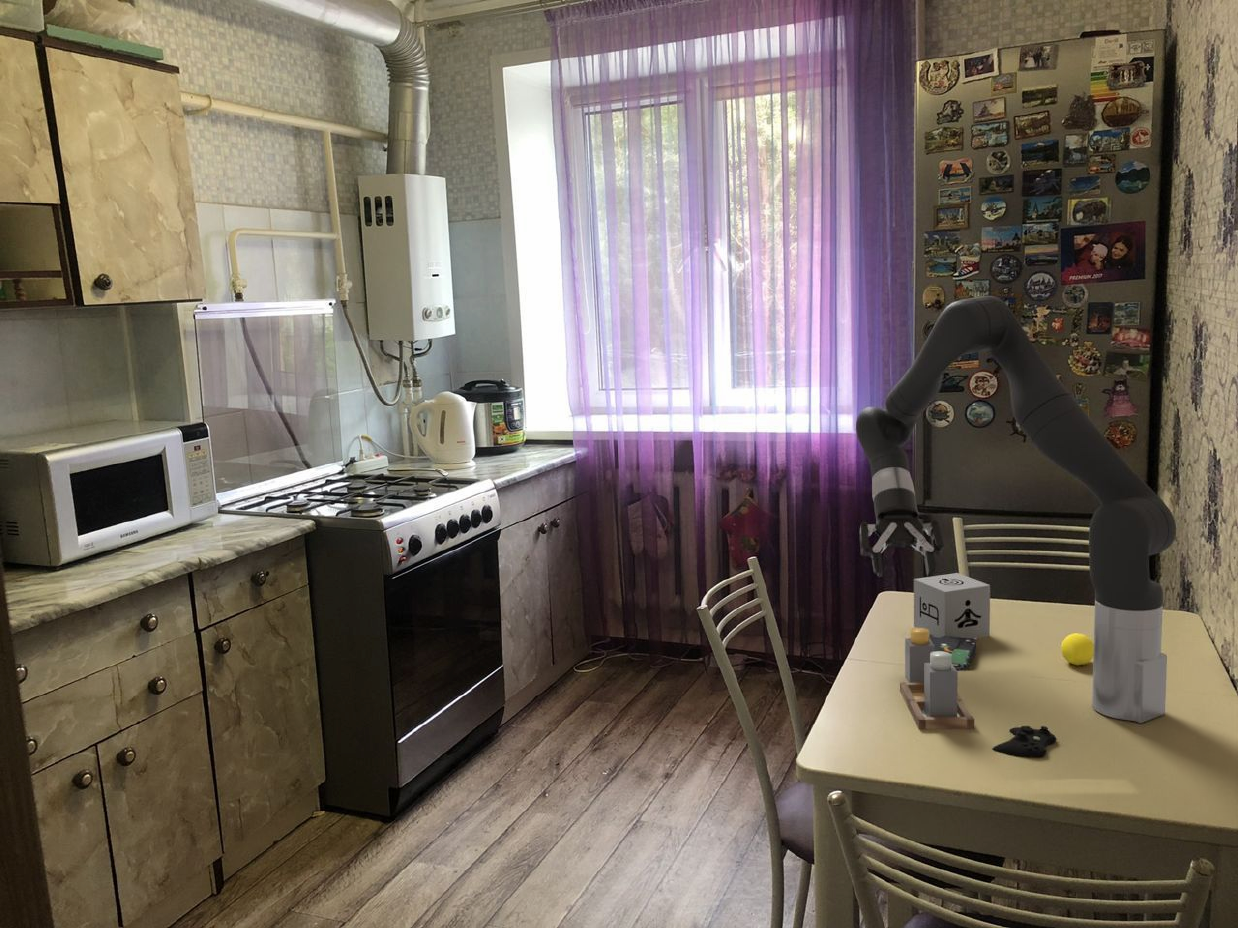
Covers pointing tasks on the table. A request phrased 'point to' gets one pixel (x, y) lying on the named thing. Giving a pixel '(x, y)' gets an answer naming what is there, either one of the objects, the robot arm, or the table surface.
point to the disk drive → (957, 650)
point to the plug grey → (940, 686)
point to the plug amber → (917, 654)
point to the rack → (915, 703)
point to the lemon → (1077, 649)
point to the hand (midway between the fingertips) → (905, 574)
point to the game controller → (1027, 742)
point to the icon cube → (952, 606)
